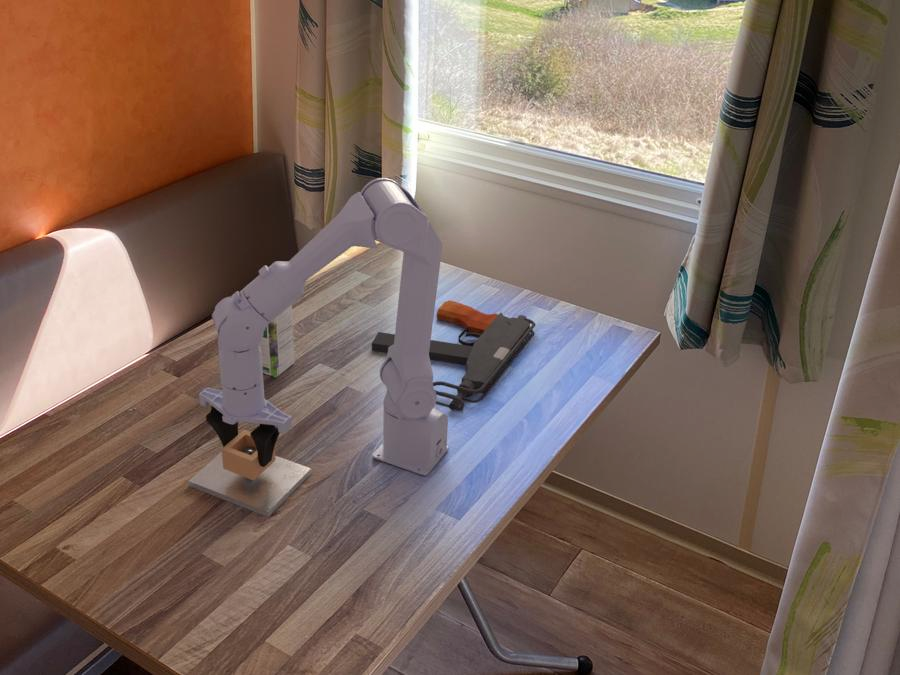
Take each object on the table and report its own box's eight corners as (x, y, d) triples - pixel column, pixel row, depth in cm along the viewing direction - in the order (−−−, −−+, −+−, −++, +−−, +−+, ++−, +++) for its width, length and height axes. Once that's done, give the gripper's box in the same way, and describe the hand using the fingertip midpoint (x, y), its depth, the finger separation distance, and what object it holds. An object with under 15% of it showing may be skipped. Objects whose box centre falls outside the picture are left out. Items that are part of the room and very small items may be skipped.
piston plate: (311, 473, 146) (309, 444, 143) (268, 517, 138) (266, 487, 135) (234, 445, 151) (232, 417, 149) (188, 486, 143) (185, 456, 140)
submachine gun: (419, 289, 193) (539, 319, 184) (419, 301, 194) (537, 331, 185) (338, 366, 168) (472, 405, 159) (339, 380, 169) (471, 419, 160)
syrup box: (249, 369, 170) (243, 296, 162) (269, 353, 174) (264, 282, 167) (275, 378, 168) (271, 305, 160) (296, 362, 172) (292, 290, 165)
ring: (275, 460, 144) (274, 440, 142) (253, 480, 140) (252, 460, 138) (245, 448, 146) (244, 429, 144) (223, 468, 142) (221, 449, 140)
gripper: (181, 378, 135) (191, 456, 142) (268, 408, 130) (274, 487, 137) (213, 354, 140) (221, 430, 147) (298, 382, 135) (302, 459, 142)
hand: (248, 456), depth 142 cm, fingers closed on ring, 5 cm apart
